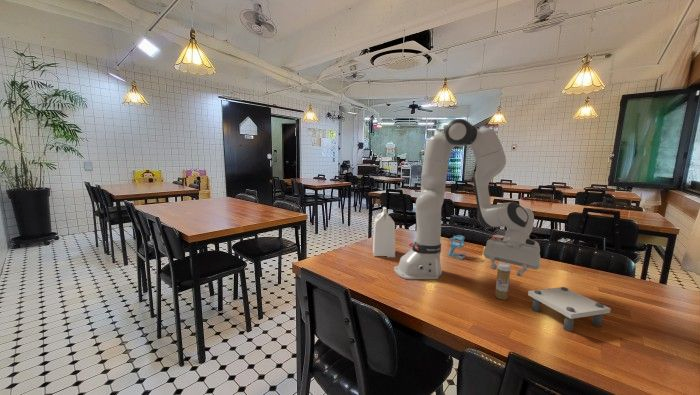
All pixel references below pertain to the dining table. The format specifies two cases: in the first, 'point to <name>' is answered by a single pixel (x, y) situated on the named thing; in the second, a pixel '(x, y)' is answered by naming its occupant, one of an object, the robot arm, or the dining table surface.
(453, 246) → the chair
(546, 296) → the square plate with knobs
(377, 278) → the dining table surface
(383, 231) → the milk
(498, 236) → the soda can
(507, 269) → the sprinkles bottle
